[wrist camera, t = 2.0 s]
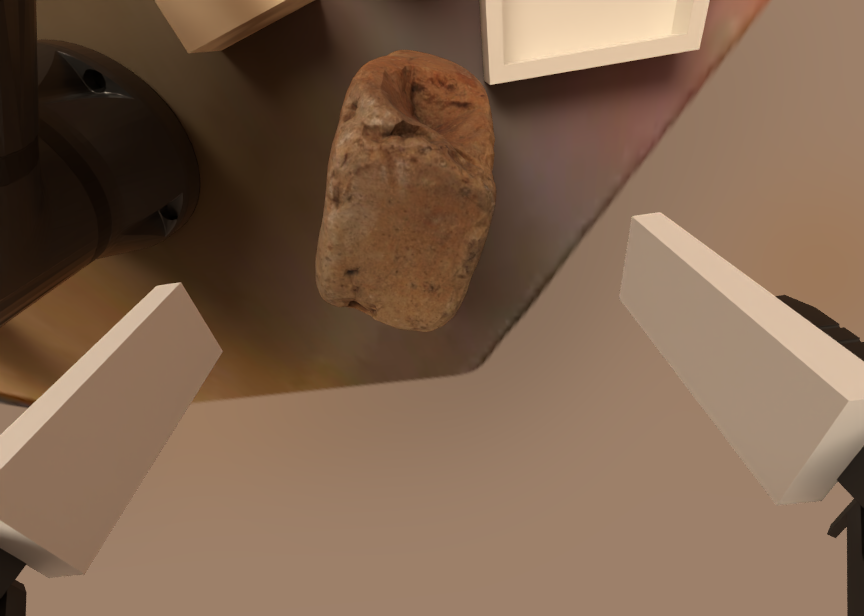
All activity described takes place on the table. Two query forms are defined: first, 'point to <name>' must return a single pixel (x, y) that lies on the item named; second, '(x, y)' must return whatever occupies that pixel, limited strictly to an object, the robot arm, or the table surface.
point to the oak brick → (222, 20)
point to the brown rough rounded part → (407, 191)
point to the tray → (582, 34)
